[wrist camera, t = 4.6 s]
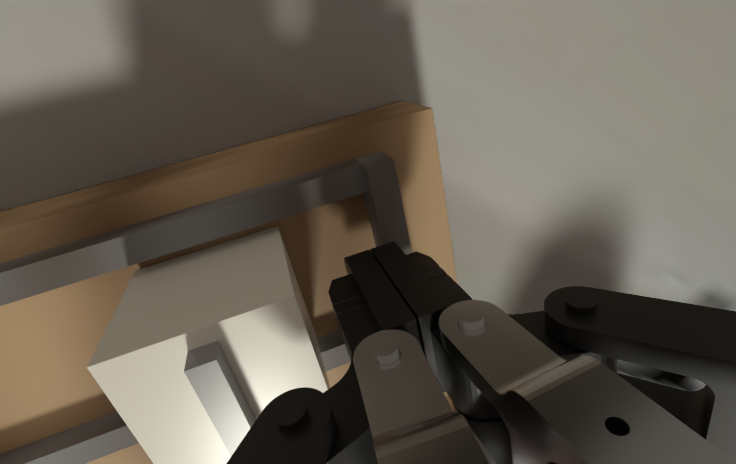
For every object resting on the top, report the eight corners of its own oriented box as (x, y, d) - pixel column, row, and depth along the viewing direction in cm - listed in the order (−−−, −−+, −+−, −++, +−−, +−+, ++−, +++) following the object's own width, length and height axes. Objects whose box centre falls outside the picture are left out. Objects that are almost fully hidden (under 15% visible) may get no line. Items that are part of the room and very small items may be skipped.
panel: (402, 100, 14) (450, 112, 11) (465, 463, 23) (502, 530, 20) (-289, 291, 11) (-516, 390, 8) (89, 632, 20) (59, 746, 16)
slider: (277, 225, 12) (297, 311, 8) (314, 332, 14) (347, 448, 9) (135, 270, 11) (75, 390, 7) (193, 376, 13) (171, 522, 9)
